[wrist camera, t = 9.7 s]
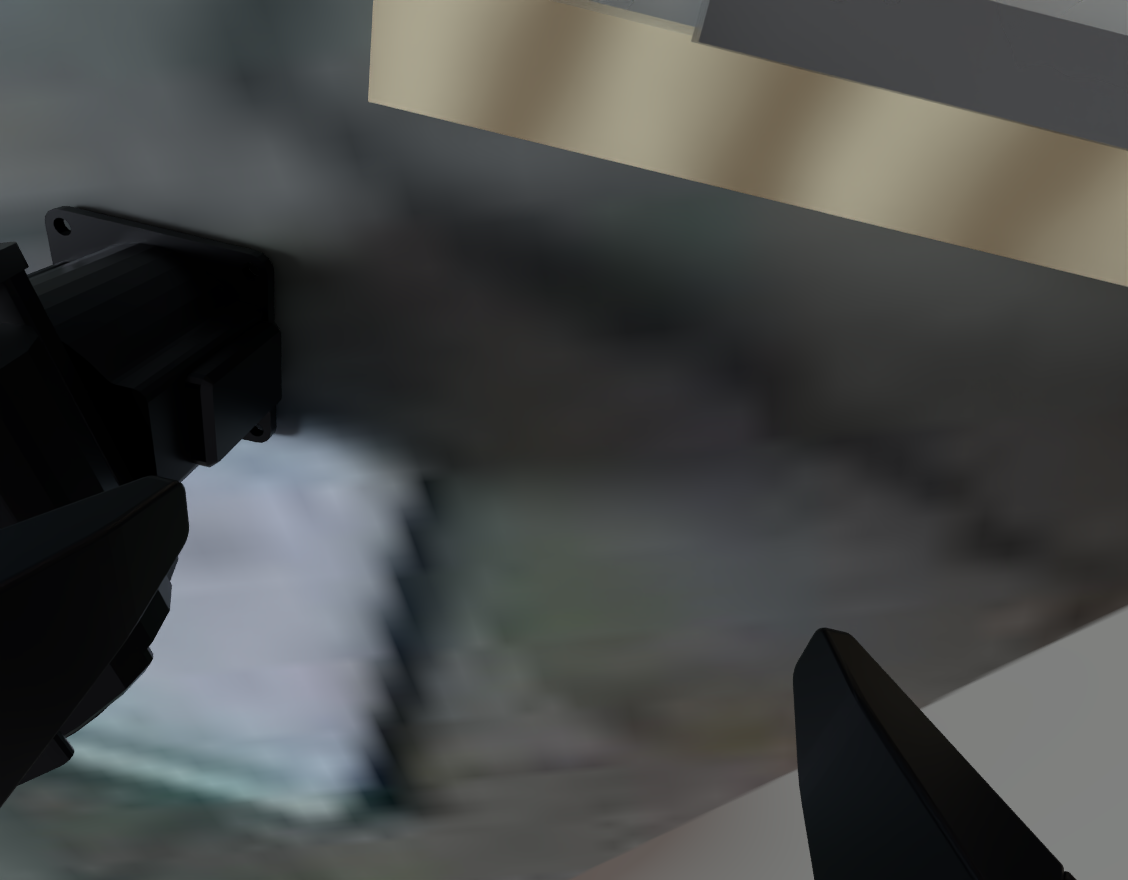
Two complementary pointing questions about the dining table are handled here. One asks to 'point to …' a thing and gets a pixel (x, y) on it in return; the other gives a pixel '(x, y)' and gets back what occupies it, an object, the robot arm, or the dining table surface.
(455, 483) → the dining table surface
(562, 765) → the dining table surface
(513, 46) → the mounting board
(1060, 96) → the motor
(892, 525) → the dining table surface
